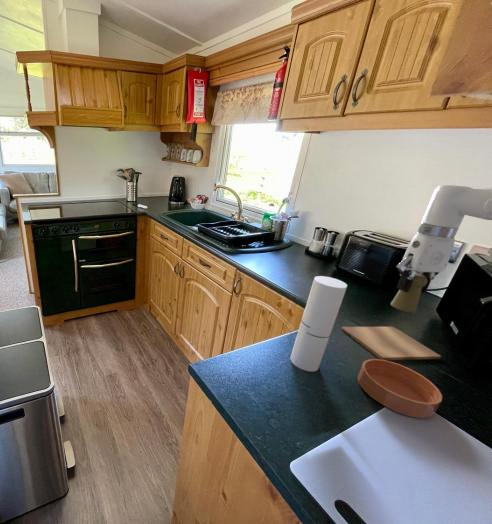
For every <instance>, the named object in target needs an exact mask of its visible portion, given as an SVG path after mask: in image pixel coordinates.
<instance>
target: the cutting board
mask: <svg viewBox="0 0 492 524" xmlns="http://www.w3.org/2000/svg"><path fill="white" fill-rule="evenodd" d="M341 329H343V330H344V331H345V332H346V333H348V334H349V335H350V336H351V338H352V339H353V340H354V339H355V340H354V341H356V342H357V343H358V344H360V345H361V346H363V347H364V348H365V349H366V350H368V351H369V352H370V353H371V354H373V355H374V356H375V357H377V359H381V360H387V361H407V360H409V361H411V360H441V358H442V355H441V354H439V353H436V352H435V351H434V350H432V349H430V348H428V347H427V346H425V345H424V344H423V343H420V342H419V341H417V339H414V338H413V337H411V336H409V335H407V334H405V333H404V332H402V331H401V330H400V329H398V328H396V327H395V326H389V325H388V326H341V328H340V330H341ZM343 330H342V331H343ZM344 331H343V332H344ZM345 332H344V333H345ZM346 333H345V334H346ZM348 334H347V335H348ZM349 335H348V336H349ZM350 336H349V337H350Z"/></svg>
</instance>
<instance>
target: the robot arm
mask: <svg viewBox="0 0 492 524" xmlns="http://www.w3.org/2000/svg"><path fill="white" fill-rule="evenodd" d="M426 207H427V208H426V210H425V212H424V215H423V216H422V219H421V222H420V225H419V227H418V229H417V232H416V234H415V235H414V236H413V238H412V240H411V241H410V243H409V245H408V246H407V248H406V250H405V253H404V255H403V256H402V260H401V262H399V263H398V264H397V265H396V269H397V270H398V272H399V276H400V277H399V280H398V282H397V285H396V289H397V290H402V291H404V292H408V291H409V289H410V287H411V285H412V282H413V280H411V279H412V278H413V277H414V275H415V274H418V273H420V275H423V276H425V277H426V278H427V284H426V285H425V286H423V287H422V290H421V293H427V291H428V289H429V286H430V284H431V282H432V281H434V280H435V277H436V276H437V275H439V274H440V273H442V272H444V271H445V270H446V268H447V266H448V263H449V261H450V259H451V256H452V253H453V250H454V247H455V241H456V239H455V237H456V234H457V233H458V231H459V228H460V226H461V224H462V222H463V220H464V217H465V216H469V217H472V218H477V219H481V220H486V221H492V186H490V187H487V188H473V187H470V186H464V185H463V186H462V185H454V184H441V185H438V186H436V188H435V189H434V191H433V193H432V195H431V198H430V201H429V203H428V205H427V206H426ZM409 271H410V272H409ZM409 273H410V274H409Z"/></svg>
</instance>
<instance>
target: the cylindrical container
mask: <svg viewBox="0 0 492 524" xmlns="http://www.w3.org/2000/svg"><path fill="white" fill-rule="evenodd" d="M311 284H312V285H311V287H310V292H309V295H308V297H307V301H306V304H305V307H304V311H303V314H302V317H301V320H300V324H299V327H298V330H297V333H296V337H295V340H294V343H293V347H292V351H291V354H290V357H289V361H290V362H291V363H292V364H293V365H294V366H295V367H297V368H298V369H300V370H303V371H306V372H317V371H318V370H319V368H320V366H321V362H322V360H323V357H324V354H325V351H326V348H327V345H328V342H329V340H330V337H331V333H332V331H333V328H334V325H335V322H336V320H337V318H338V314H339V311H340V308H341V305H342V303H343V299H344V297H345V294H346V291H347V288H348V284H347V283H346V282H344V281H342V280H340V279H338V278H334V277H331V276H326V275H325V276H324V275H317V276H314V277H313V280H312V283H311Z"/></svg>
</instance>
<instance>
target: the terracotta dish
mask: <svg viewBox="0 0 492 524" xmlns="http://www.w3.org/2000/svg"><path fill="white" fill-rule="evenodd" d="M357 382H358V384H359V386H360V387H361V389H362V390H363V391H364V392H365V393H366V394H367V395H368V396H369V397H370V398H372V399H373V400H375V401H376V402H377V403H379V404H381V405H382V406H384V407H386V408H388V409H389V410H392V411H393V412H396V413H398V414H402V415H405V416H408V417H411V418H417V419H429V418H432V417H433V416H434V415H435V414H436V412H437V410H438V408H439V407H440V405H441V403H442V401H443V394H442V393H441V390H440V389H439V388H438V387H437V386H436V385H435V384H434V383H433V382H432V381H430V380H429V379H428V378H426V377H425V376H424V375H422V374H420V373H419V372H417V371H415V370H413V369H411V368H409V367H406V366H404V365H402V364H400V363H396V362H393V361H391V360H381V359H380V358H369V359H366V360H364V361H363V362H362V365H361V367H360V370H359V372H358V375H357Z"/></svg>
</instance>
